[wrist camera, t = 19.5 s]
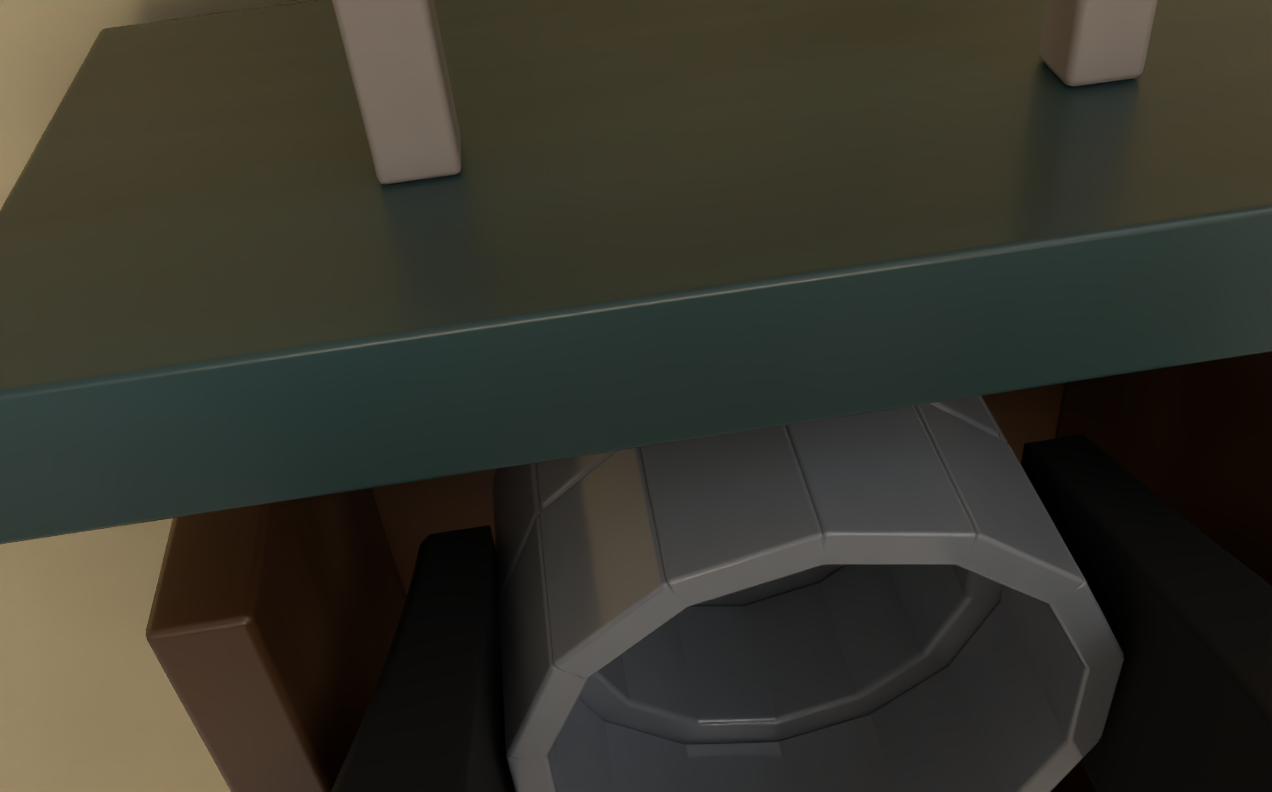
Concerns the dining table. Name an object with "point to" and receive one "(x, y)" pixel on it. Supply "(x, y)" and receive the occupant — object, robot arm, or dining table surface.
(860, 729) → the grey plastic pail
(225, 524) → the drawer
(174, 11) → the dining table surface
